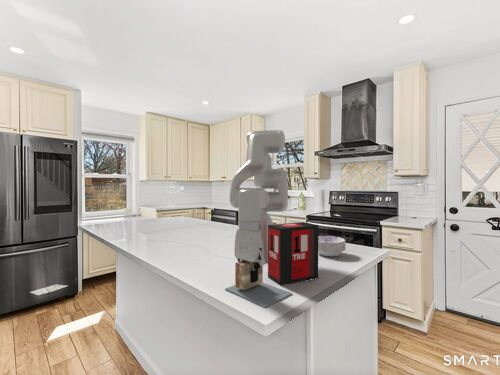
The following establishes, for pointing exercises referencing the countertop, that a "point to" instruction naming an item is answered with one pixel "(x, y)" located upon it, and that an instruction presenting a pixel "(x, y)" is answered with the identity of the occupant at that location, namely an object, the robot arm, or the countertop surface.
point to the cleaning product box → (292, 252)
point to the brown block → (246, 275)
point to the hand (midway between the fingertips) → (249, 279)
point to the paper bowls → (331, 245)
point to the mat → (261, 294)
